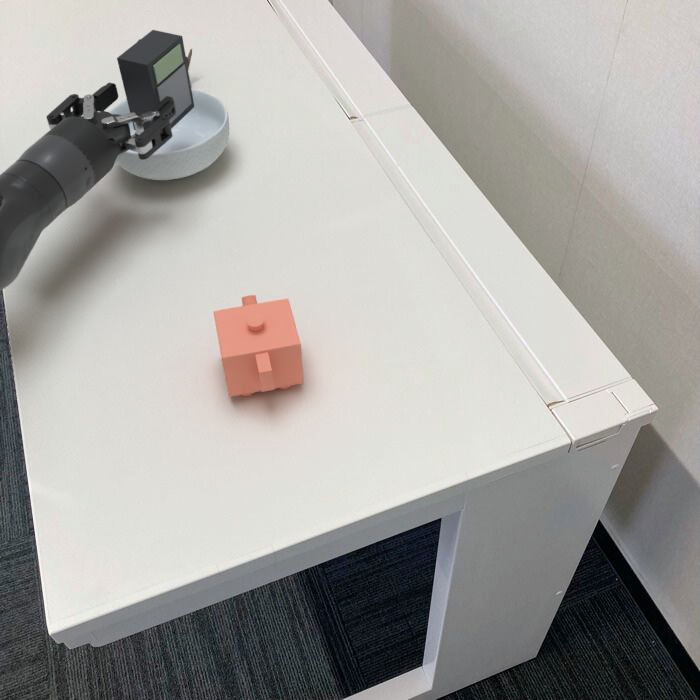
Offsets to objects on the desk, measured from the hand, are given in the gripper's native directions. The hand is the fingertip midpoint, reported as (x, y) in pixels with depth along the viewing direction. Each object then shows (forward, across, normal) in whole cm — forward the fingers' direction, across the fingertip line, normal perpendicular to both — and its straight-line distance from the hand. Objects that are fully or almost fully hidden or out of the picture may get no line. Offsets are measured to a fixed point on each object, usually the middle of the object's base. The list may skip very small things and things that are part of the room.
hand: (142, 96), depth 98 cm
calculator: (+3, 0, +5) cm, 6 cm away
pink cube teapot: (-26, -29, +12) cm, 41 cm away
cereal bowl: (+3, 0, +12) cm, 13 cm away
